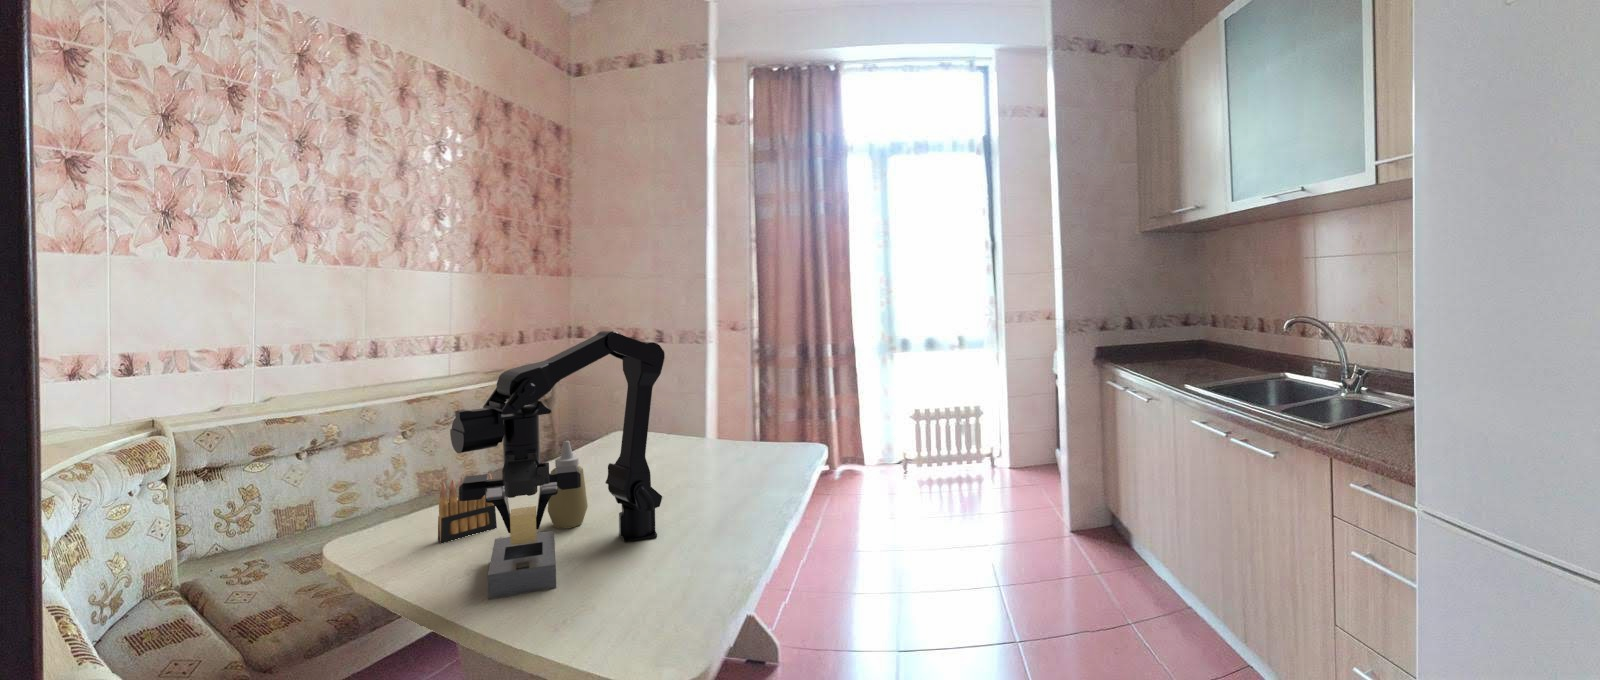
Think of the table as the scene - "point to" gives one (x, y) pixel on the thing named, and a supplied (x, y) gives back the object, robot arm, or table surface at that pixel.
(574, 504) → the squeeze bottle
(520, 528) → the tan wooden block
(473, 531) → the ammunition clip
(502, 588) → the grey socket block
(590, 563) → the table surface
